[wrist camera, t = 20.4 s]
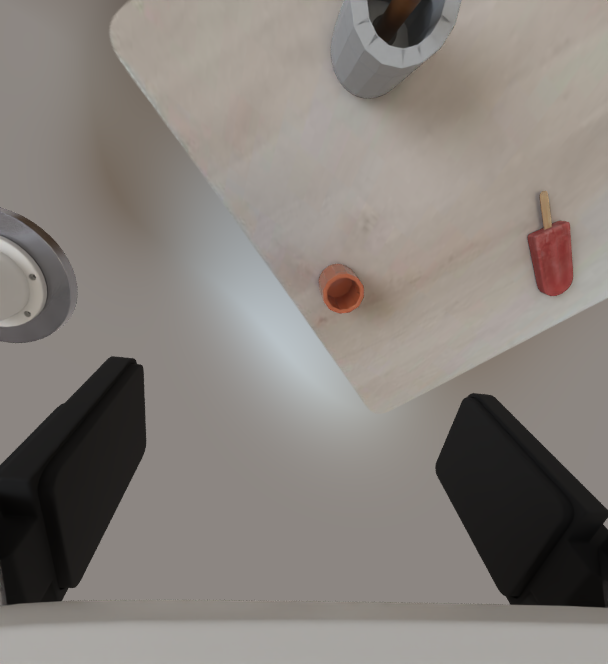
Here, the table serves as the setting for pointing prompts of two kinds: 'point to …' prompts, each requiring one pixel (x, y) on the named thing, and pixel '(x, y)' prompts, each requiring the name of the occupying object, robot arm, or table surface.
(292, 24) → the table surface
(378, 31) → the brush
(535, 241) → the popsicle
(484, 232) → the table surface
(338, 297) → the pen cup
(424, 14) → the grey hollow cylinder
